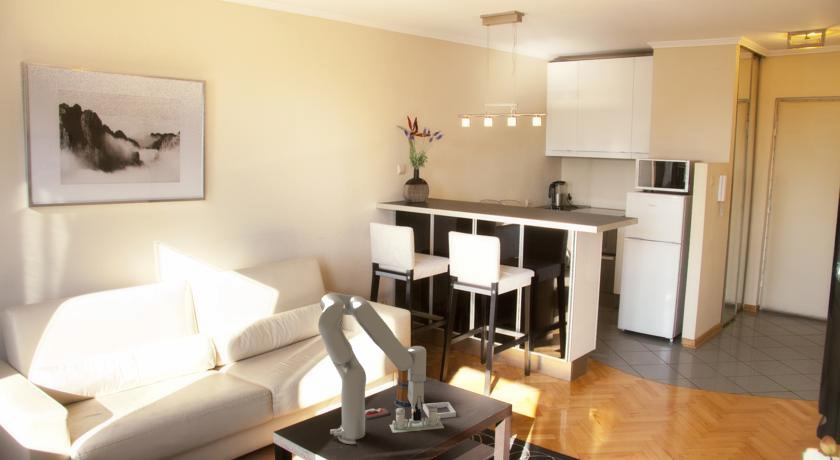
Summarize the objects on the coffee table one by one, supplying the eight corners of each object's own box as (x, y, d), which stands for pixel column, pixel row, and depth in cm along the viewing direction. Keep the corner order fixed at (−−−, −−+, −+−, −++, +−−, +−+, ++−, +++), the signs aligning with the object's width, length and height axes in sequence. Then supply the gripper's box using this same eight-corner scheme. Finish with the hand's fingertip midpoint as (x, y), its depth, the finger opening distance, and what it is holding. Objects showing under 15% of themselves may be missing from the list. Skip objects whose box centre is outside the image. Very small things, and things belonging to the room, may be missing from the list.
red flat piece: (383, 411, 300) (342, 419, 291) (383, 402, 300) (342, 410, 290) (392, 418, 292) (350, 427, 283) (392, 408, 292) (350, 417, 282)
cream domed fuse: (396, 430, 276) (396, 411, 275) (395, 426, 280) (395, 408, 279) (405, 429, 277) (405, 410, 276) (403, 425, 281) (403, 407, 280)
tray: (429, 422, 288) (429, 414, 287) (422, 411, 299) (422, 404, 299) (455, 419, 291) (456, 412, 290) (448, 409, 302) (448, 401, 302)
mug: (385, 395, 318) (385, 355, 315) (413, 391, 324) (413, 351, 321) (401, 410, 300) (401, 367, 298) (430, 405, 306) (430, 363, 304)
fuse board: (392, 436, 274) (392, 425, 273) (389, 428, 282) (389, 417, 281) (444, 431, 279) (444, 421, 278) (439, 423, 287) (439, 413, 286)
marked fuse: (412, 424, 278) (412, 405, 277) (410, 420, 281) (410, 402, 280) (421, 423, 278) (421, 404, 277) (419, 419, 282) (419, 401, 281)
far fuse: (429, 427, 280) (429, 408, 279) (427, 423, 283) (427, 405, 282) (438, 426, 280) (438, 408, 279) (435, 422, 284) (436, 404, 283)
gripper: (403, 370, 284) (403, 411, 287) (412, 383, 268) (411, 427, 271) (420, 369, 286) (419, 409, 289) (430, 382, 270) (429, 425, 272)
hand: (415, 417), depth 280 cm, fingers closed on marked fuse, 3 cm apart
